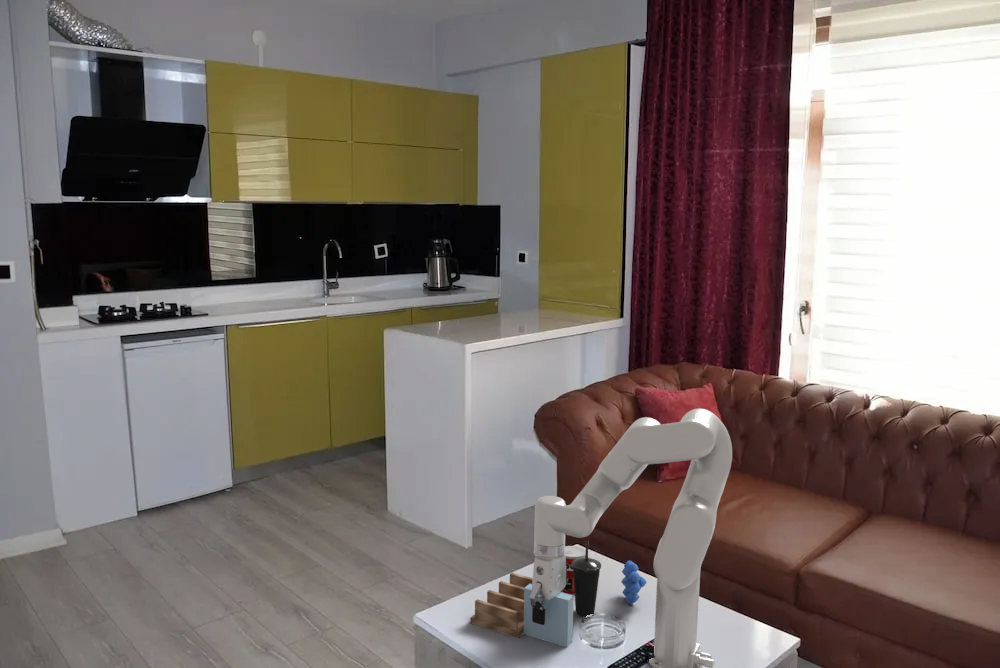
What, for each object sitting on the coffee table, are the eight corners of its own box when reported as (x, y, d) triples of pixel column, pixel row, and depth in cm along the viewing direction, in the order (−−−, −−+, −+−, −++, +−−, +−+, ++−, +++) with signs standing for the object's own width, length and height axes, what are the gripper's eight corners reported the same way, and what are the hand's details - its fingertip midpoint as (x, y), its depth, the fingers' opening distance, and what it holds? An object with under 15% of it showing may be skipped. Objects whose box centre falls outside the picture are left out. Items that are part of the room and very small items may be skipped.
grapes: (651, 613, 196) (653, 570, 194) (626, 614, 195) (627, 570, 194) (640, 592, 207) (642, 551, 206) (616, 593, 207) (618, 551, 205)
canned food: (552, 585, 211) (553, 548, 210) (576, 580, 214) (577, 543, 213) (566, 597, 204) (567, 558, 203) (590, 591, 207) (592, 554, 206)
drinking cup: (598, 622, 191) (601, 547, 188) (569, 618, 192) (570, 545, 190) (600, 607, 198) (602, 536, 196) (572, 604, 200) (573, 533, 197)
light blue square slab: (572, 642, 181) (573, 595, 180) (567, 647, 179) (568, 600, 177) (528, 628, 187) (529, 583, 186) (523, 633, 185) (524, 588, 183)
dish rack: (554, 604, 200) (554, 583, 199) (518, 638, 183) (518, 615, 182) (509, 591, 207) (509, 571, 206) (470, 623, 190) (470, 600, 189)
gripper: (547, 564, 171) (545, 634, 173) (578, 539, 186) (576, 604, 188) (518, 557, 175) (517, 625, 177) (551, 532, 189) (549, 596, 192)
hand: (547, 614), depth 182 cm, fingers open, 9 cm apart
